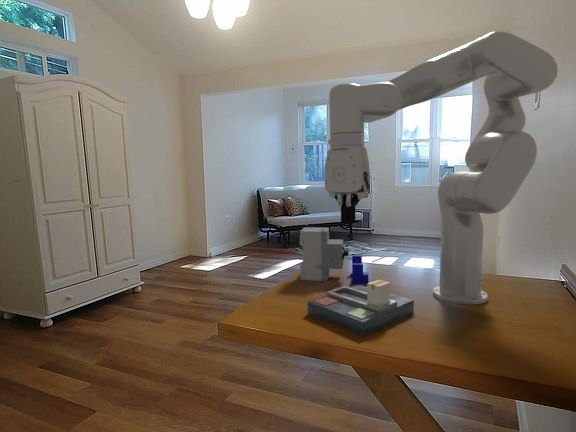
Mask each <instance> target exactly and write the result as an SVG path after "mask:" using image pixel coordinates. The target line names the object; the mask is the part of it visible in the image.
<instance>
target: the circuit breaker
mask: <svg viewBox="0 0 576 432" xmlns="http://www.w3.org/2000/svg"><path fill="white" fill-rule="evenodd" d="M299 234H300V235H299V246H300V247H302V261H301V263H300V265H299V267H300V268H299V271H300V272H299V273H300V279H299V280H300V281H317V282H321V281H323V282H327V281H328V279H329V276H330V272H331V271H330V270H342V269H343V266H344V260H345V257H349V255H350V254H349V253H350V252H349V249H348V250H346V249H345V246H344V239H332V238H331V239H330V228H329V227H309V226H307V227H303V228H302V229H301V230H300V232H299Z"/></svg>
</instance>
